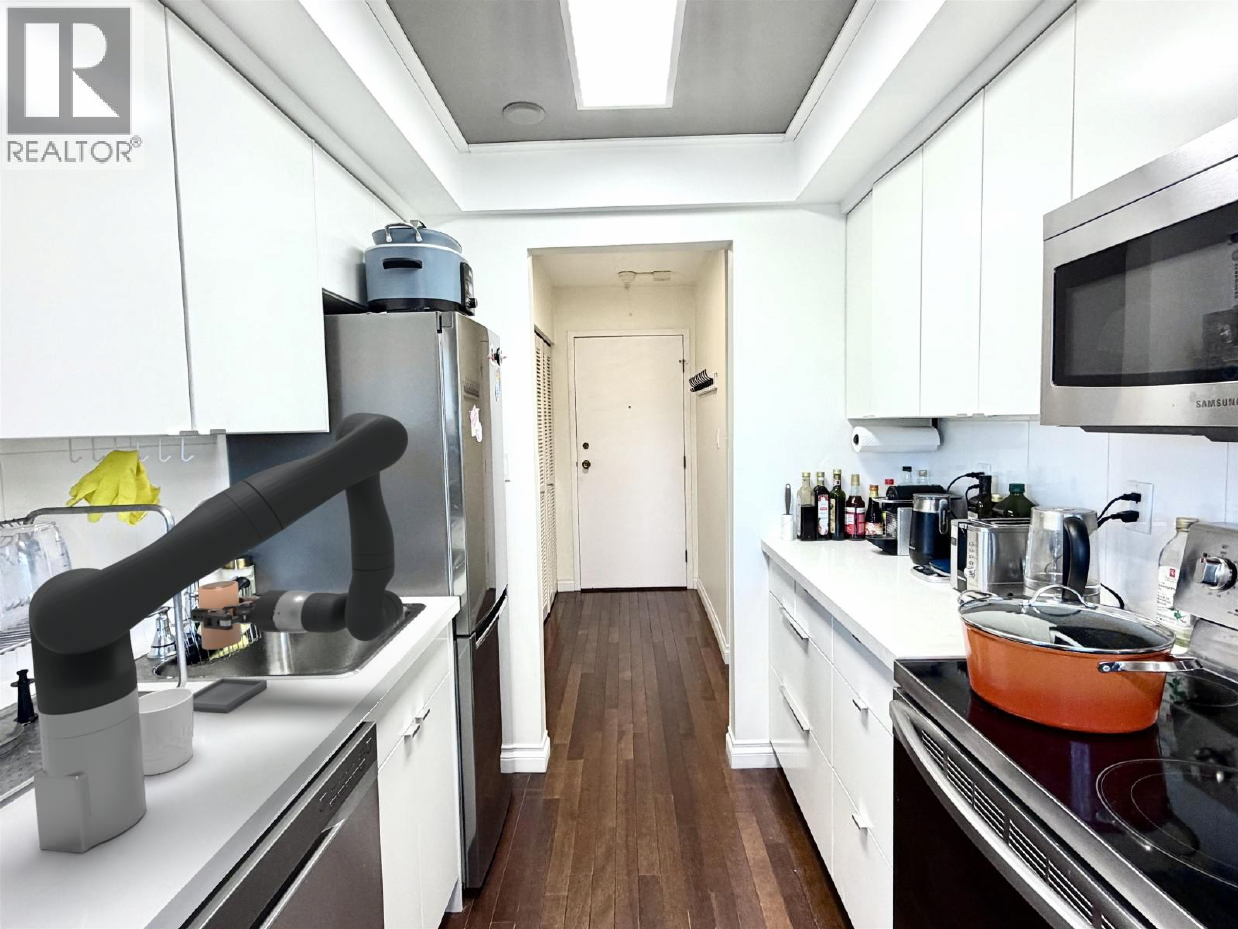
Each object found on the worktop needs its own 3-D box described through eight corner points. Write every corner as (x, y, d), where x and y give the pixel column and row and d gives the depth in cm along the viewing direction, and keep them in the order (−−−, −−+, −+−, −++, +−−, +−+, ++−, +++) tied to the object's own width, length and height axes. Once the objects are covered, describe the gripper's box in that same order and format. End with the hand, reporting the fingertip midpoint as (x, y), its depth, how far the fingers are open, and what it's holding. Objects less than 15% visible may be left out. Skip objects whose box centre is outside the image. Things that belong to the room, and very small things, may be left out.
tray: (227, 713, 100) (226, 704, 100) (179, 710, 101) (178, 701, 101) (267, 688, 109) (266, 680, 109) (222, 685, 111) (222, 677, 110)
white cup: (139, 785, 80) (134, 718, 79) (124, 765, 85) (120, 702, 84) (204, 759, 86) (200, 697, 86) (187, 741, 91) (184, 682, 90)
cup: (223, 650, 101) (219, 590, 100) (193, 648, 102) (189, 589, 101) (249, 637, 107) (245, 580, 106) (220, 636, 108) (217, 580, 107)
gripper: (315, 580, 109) (237, 578, 111) (259, 604, 95) (171, 601, 97) (317, 617, 110) (239, 614, 112) (262, 647, 95) (174, 643, 97)
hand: (208, 608), depth 104 cm, fingers closed on cup, 6 cm apart
